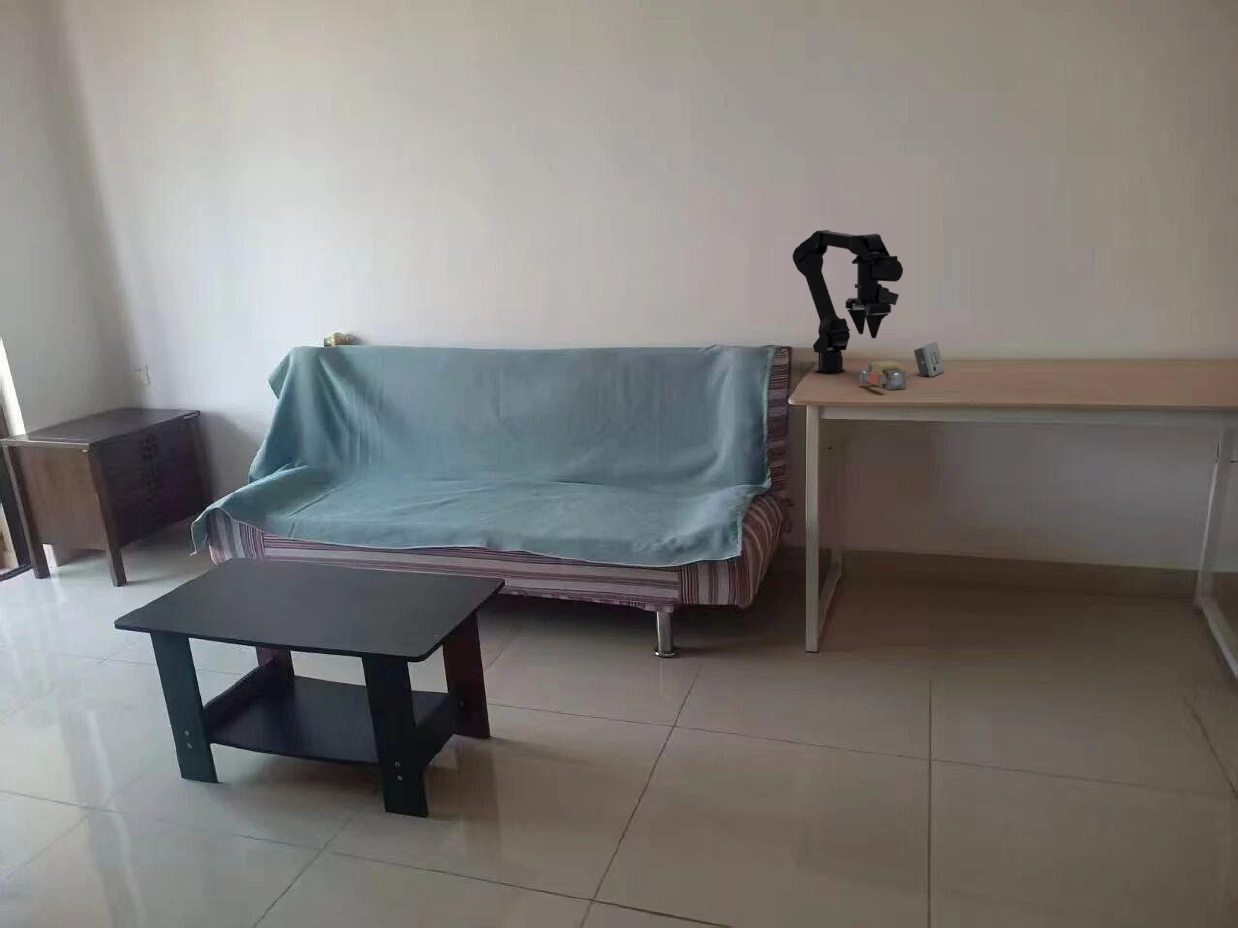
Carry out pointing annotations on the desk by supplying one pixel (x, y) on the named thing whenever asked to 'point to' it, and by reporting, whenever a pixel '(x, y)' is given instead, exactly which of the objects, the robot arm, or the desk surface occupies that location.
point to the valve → (890, 374)
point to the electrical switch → (929, 359)
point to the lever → (872, 377)
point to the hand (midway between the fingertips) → (867, 336)
